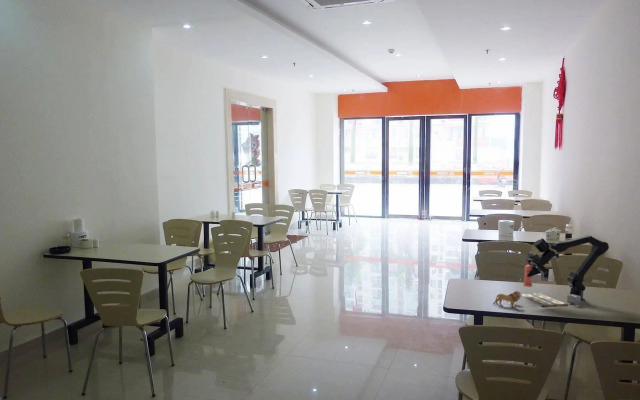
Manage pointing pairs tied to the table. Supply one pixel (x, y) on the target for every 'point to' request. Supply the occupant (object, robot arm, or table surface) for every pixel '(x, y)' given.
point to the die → (574, 299)
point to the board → (545, 301)
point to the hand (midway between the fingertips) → (525, 275)
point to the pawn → (527, 279)
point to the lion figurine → (508, 298)
